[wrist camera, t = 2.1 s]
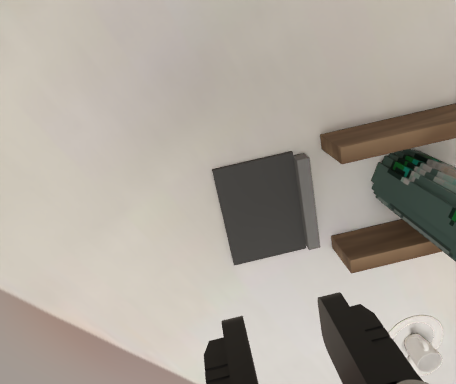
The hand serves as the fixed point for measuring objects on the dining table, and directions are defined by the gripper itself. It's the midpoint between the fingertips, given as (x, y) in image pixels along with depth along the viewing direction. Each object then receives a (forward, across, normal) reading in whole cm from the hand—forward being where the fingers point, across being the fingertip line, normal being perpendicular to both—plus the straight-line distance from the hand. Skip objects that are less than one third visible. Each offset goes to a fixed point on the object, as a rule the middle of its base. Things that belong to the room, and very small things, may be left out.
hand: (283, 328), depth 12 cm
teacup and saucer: (+26, -17, +33) cm, 45 cm away
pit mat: (+25, -3, +8) cm, 27 cm away
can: (+25, -18, +8) cm, 32 cm away
